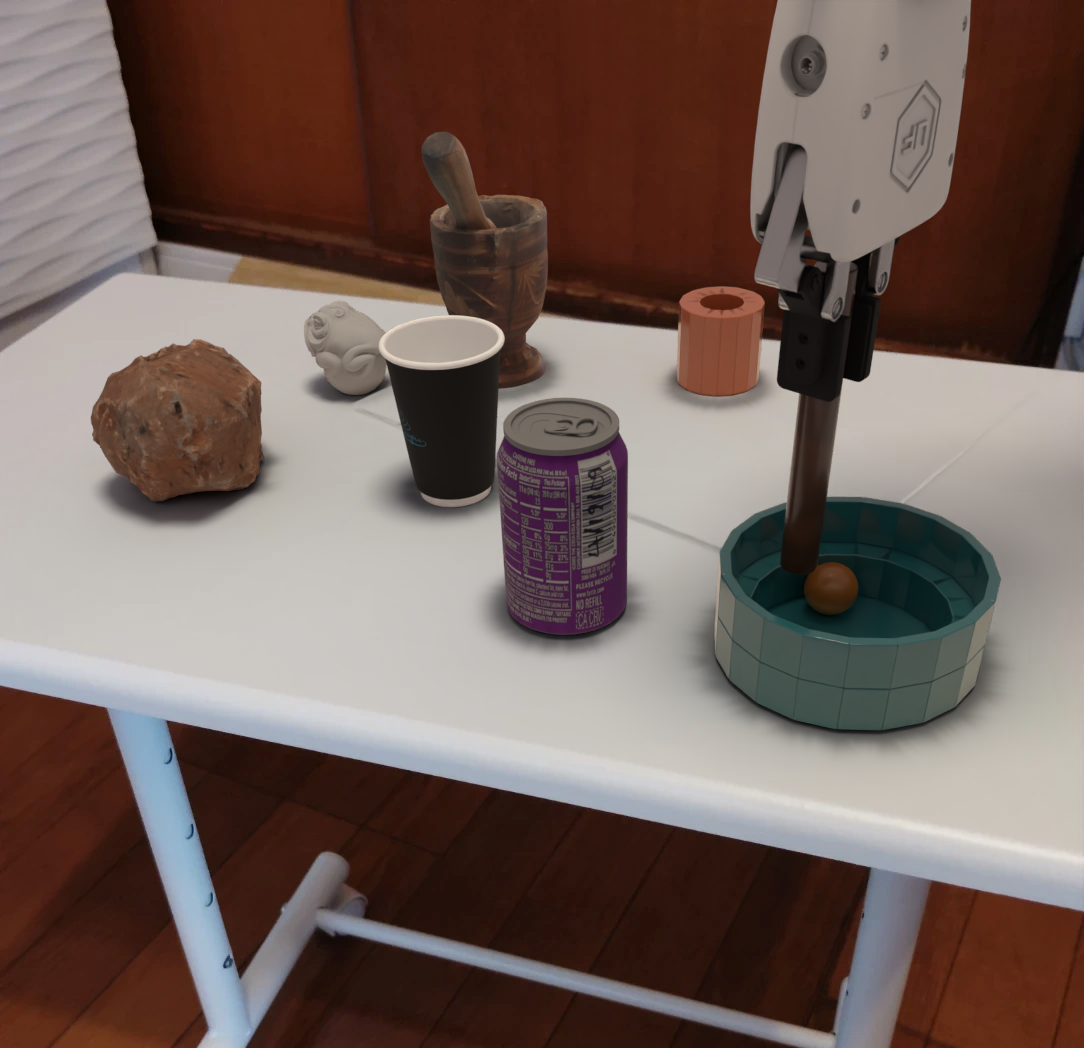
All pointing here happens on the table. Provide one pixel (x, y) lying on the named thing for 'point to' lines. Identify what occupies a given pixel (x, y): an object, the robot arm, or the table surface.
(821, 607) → the bead
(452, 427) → the dixie cup
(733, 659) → the bowl
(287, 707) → the table surface
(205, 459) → the decorative rock
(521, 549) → the beverage can
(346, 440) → the table surface
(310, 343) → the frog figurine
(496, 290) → the mortar and pestle
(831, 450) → the stirring stick
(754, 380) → the holder
